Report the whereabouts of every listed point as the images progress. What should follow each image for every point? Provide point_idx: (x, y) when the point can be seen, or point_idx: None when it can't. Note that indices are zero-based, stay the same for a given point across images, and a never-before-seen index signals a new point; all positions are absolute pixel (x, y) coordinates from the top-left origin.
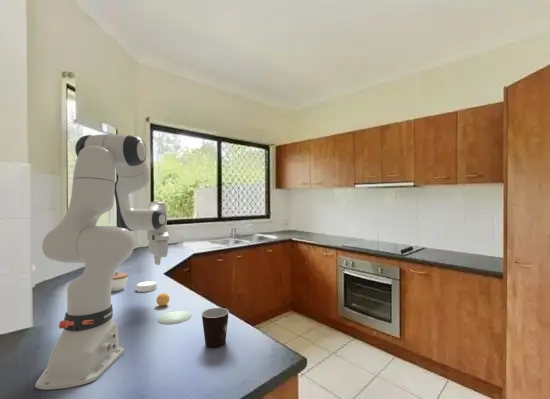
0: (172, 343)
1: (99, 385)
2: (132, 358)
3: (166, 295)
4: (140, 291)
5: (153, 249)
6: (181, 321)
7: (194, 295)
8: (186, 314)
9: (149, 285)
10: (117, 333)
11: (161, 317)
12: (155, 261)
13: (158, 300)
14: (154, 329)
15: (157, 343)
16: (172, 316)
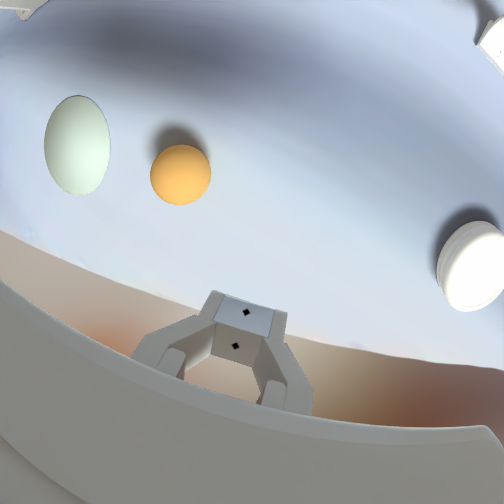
0: (3, 98)
1: None
2: (10, 34)
3: (153, 187)
4: (468, 223)
5: (184, 484)
6: (45, 148)
7: None
8: (70, 180)
9: (452, 265)
10: (6, 8)
11: (89, 112)
12: (247, 323)
13: (168, 147)
14: (50, 78)
15: (14, 74)
16: (77, 142)
